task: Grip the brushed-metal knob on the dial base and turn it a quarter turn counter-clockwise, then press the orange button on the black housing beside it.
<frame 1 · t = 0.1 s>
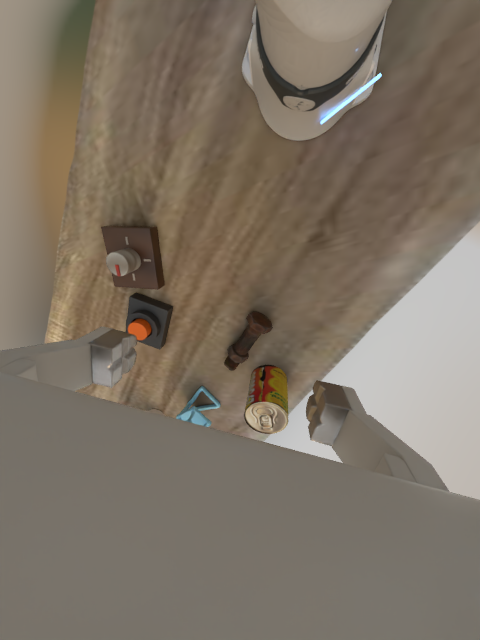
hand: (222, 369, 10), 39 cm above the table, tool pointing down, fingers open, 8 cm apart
knob: (123, 262, 45), point 5 cm above the table, hinge at 0.0°
beverage can: (268, 379, 59), on the table
bolt: (245, 338, 55), on the table
dial base: (138, 256, 50), on the table
chair: (201, 400, 66), on the table
button box: (151, 319, 57), on the table
button: (139, 329, 52), point 5 cm above the table, slide at 0.2 cm
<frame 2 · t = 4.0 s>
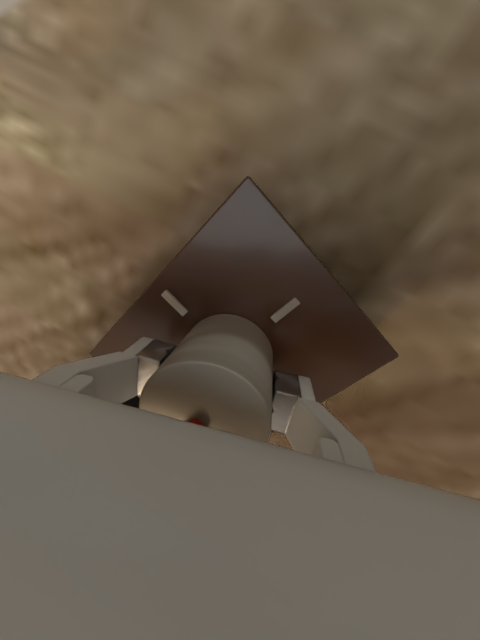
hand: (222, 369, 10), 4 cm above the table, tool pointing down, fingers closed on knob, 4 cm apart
knob: (217, 384, 9), point 5 cm above the table, hinge at -0.1°, touching gripper
dial base: (237, 331, 15), on the table
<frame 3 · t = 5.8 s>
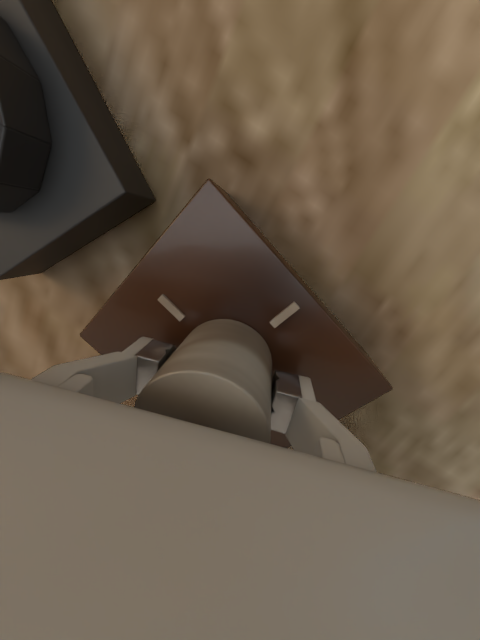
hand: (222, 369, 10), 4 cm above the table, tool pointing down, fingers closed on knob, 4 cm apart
knob: (214, 391, 9), point 5 cm above the table, hinge at 89.9°, touching gripper
dial base: (236, 335, 14), on the table
button box: (30, 137, 12), on the table
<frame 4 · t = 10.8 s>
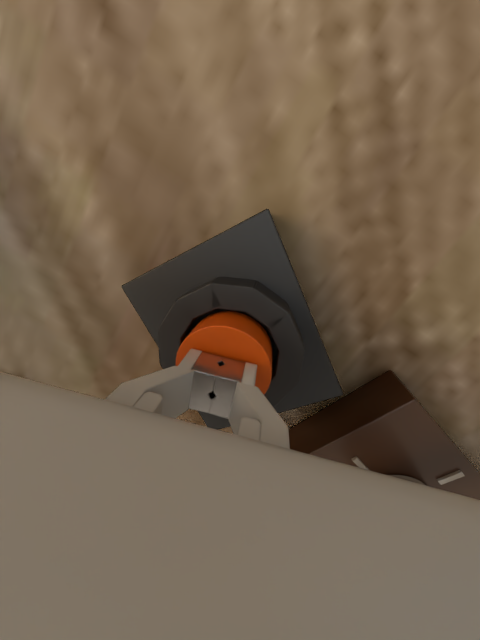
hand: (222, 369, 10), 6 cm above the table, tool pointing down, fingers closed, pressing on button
knob: (413, 542, 13), point 5 cm above the table, hinge at 89.6°
dial base: (375, 457, 18), on the table
button box: (240, 324, 16), on the table
button: (226, 360, 12), point 5 cm above the table, slide at -0.2 cm, touching gripper
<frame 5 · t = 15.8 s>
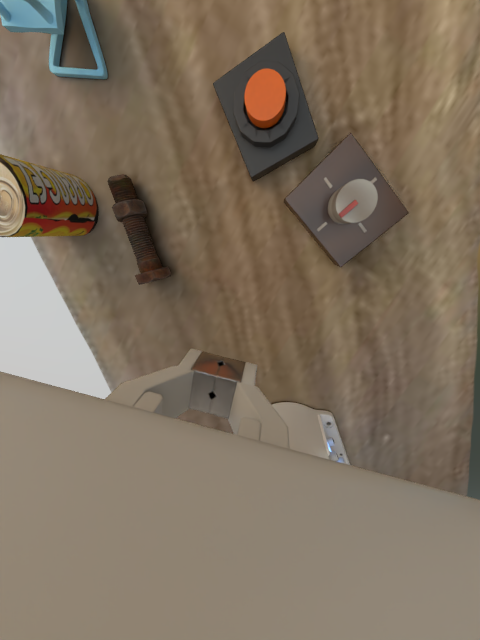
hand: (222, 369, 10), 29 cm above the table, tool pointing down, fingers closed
knob: (350, 203, 28), point 5 cm above the table, hinge at 89.6°
beverage can: (73, 206, 38), on the table
bolt: (147, 232, 38), on the table
dial base: (339, 208, 33), on the table
chair: (78, 38, 31), on the table
button box: (266, 120, 31), on the table
button: (265, 100, 26), point 5 cm above the table, slide at 0.1 cm
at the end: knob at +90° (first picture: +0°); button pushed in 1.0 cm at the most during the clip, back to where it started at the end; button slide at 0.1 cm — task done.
